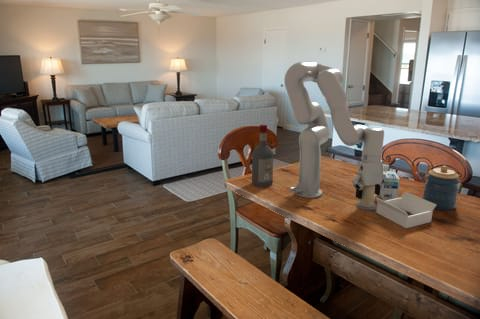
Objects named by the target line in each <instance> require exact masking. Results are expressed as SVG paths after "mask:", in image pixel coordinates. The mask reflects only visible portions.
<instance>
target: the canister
mask: <svg viewBox="0 0 480 319" xmlns="http://www.w3.org/2000/svg"><path fill="white" fill-rule="evenodd" d="M459 177H460V175H459V174H458V173H456V171H455V170H452V169H449V168H448V166H447V165H442V166H441V167H437V168H436V167H434V168H432V169H431V170H429V171H428V174H426V175H425V179H426V180H425V183H424V189H423V194H422V197H421V198H422V199H424V200H427V201H429V202H432V203H434V204H436V207H435V208H434V209H435V210H441V211H451V210H454V209H455V208H456V206H457V201H458V200H457V198H458V193H459V190H460V188H459V184H460V183H461V180H460V179H459Z"/></svg>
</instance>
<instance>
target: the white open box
mask: <svg viewBox="0 0 480 319" xmlns="http://www.w3.org/2000/svg"><path fill="white" fill-rule="evenodd" d="M422 198H423V197H419V196H417V195H415V194H413V193H410V192H407V191H405V190H404V191H403V193H402V194H401V196H400V197H398V198H396V199H391V200H382V198H379V197H377V196H374V199H375V200H376V202H377V204H376V206H377V208H376V214H378V215H380V216H382V217H384V218H386V219H388V220H389V221H392V222H393V223H395V224H397V225H399V226H401V227H403V228H405V229H409V228H414V227H417V226H420V225H424V224H428V223H431V222H432V219H433V212H434V208H435V207H436V204H434V203H432V202H429V201H427V200H424V199H422ZM407 212H408V213H410V215H408V213H407Z"/></svg>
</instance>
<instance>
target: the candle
mask: <svg viewBox="0 0 480 319" xmlns="http://www.w3.org/2000/svg"><path fill="white" fill-rule="evenodd" d="M362 190H363V193H362V199H359V202H360V205H361V206H364V207H372V206H373V203H374V201H375V194H374V193H375V186H374V185H371V186H364V187H363V188H362Z"/></svg>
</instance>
